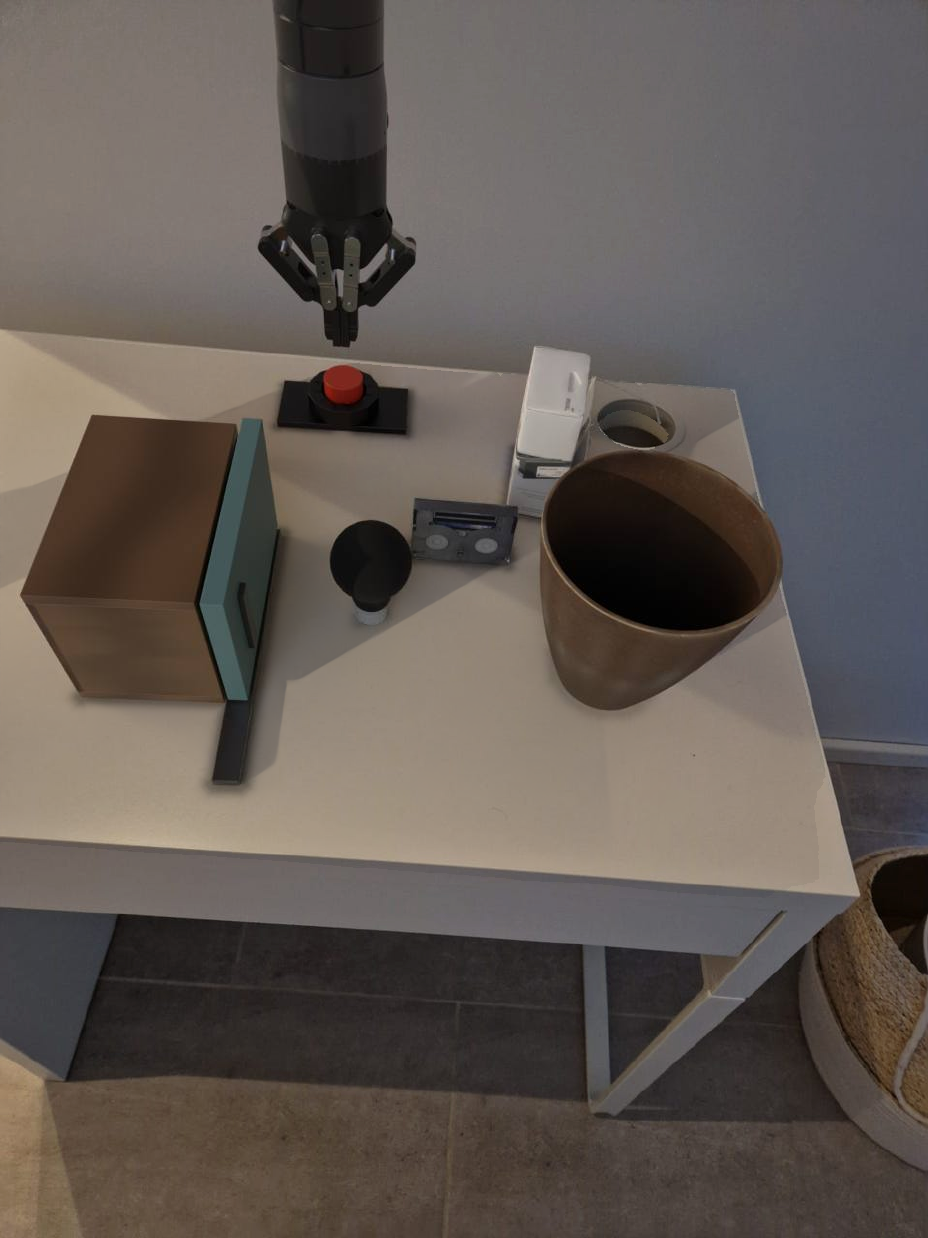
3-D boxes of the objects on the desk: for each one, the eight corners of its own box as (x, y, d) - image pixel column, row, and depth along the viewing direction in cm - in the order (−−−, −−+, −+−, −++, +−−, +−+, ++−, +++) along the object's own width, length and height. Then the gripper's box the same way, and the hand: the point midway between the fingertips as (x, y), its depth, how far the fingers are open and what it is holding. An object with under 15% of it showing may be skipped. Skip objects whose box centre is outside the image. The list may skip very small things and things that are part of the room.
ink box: (513, 448, 75) (533, 340, 66) (564, 457, 75) (592, 350, 66) (503, 512, 70) (523, 406, 61) (558, 522, 70) (587, 417, 61)
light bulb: (338, 586, 64) (333, 499, 56) (411, 592, 64) (416, 506, 56) (329, 646, 60) (321, 563, 52) (406, 652, 61) (410, 570, 53)
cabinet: (55, 781, 52) (-18, 688, 43) (134, 526, 65) (92, 411, 56) (239, 786, 53) (209, 696, 44) (281, 534, 66) (265, 422, 57)
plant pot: (680, 788, 56) (771, 668, 43) (481, 719, 58) (511, 585, 45) (710, 628, 65) (793, 488, 52) (536, 572, 67) (575, 424, 54)
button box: (277, 428, 74) (274, 407, 72) (285, 384, 78) (283, 362, 76) (405, 436, 75) (406, 416, 73) (408, 392, 79) (408, 371, 77)
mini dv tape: (507, 552, 68) (518, 502, 63) (508, 565, 67) (518, 517, 62) (411, 544, 67) (414, 494, 62) (410, 558, 66) (413, 508, 61)
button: (322, 403, 73) (321, 388, 72) (326, 378, 75) (325, 363, 74) (361, 406, 74) (361, 390, 72) (364, 381, 76) (364, 365, 74)
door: (227, 699, 56) (199, 604, 47) (260, 524, 66) (242, 417, 56) (254, 700, 56) (230, 605, 47) (282, 526, 66) (268, 419, 57)
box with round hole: (577, 404, 80) (596, 364, 76) (655, 430, 81) (677, 392, 77) (563, 501, 72) (584, 462, 68) (649, 529, 73) (674, 492, 69)
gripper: (229, 146, 53) (260, 363, 67) (426, 163, 54) (416, 373, 68) (246, 98, 58) (272, 311, 72) (428, 115, 59) (418, 321, 73)
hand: (342, 341), depth 70 cm, fingers closed
